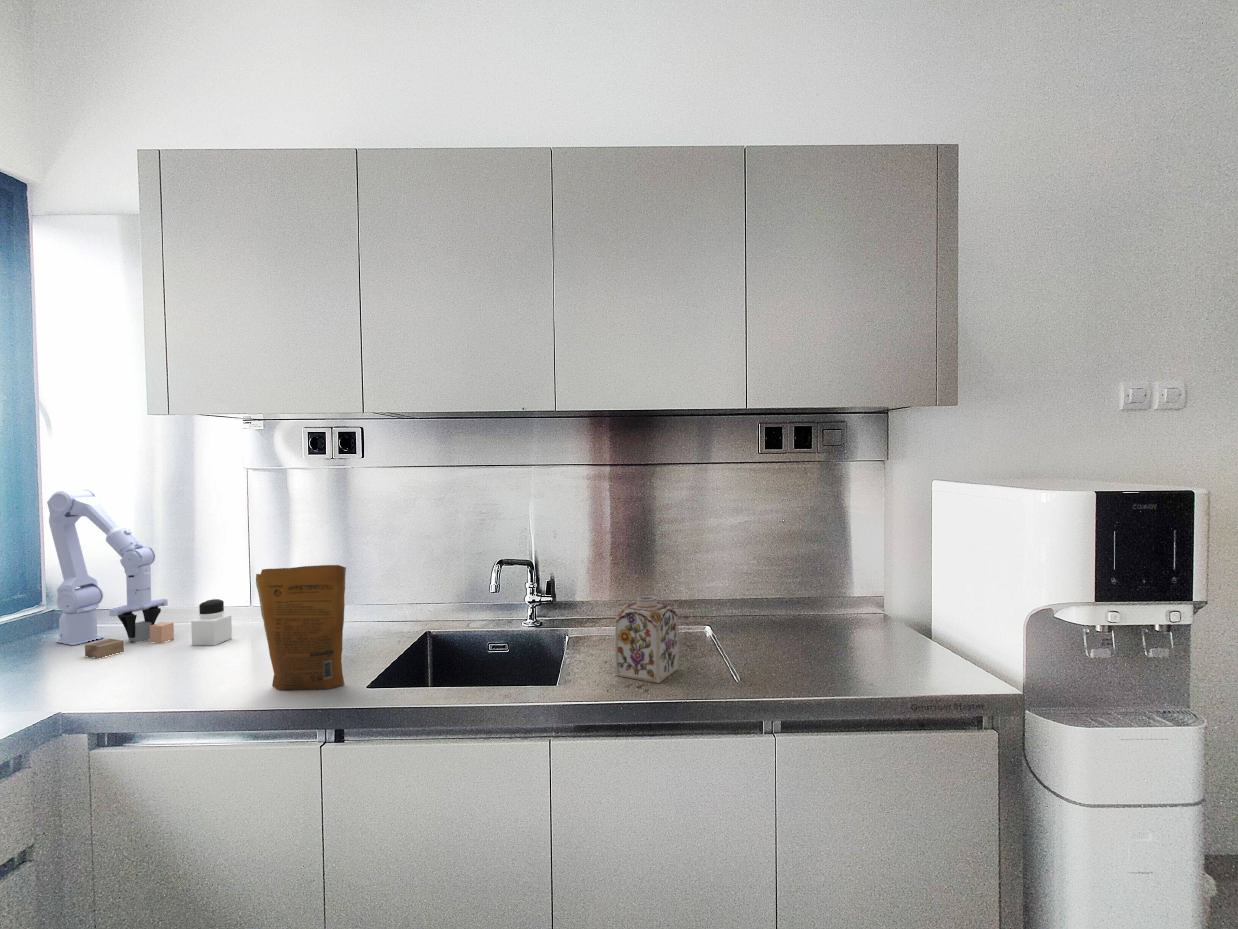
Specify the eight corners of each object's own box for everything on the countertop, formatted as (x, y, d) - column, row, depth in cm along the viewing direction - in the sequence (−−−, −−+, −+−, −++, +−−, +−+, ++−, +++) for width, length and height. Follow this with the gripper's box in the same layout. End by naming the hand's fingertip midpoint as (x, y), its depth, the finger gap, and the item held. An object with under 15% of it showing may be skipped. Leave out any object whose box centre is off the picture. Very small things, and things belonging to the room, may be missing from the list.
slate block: (128, 641, 187) (128, 624, 187) (143, 637, 190) (143, 621, 190) (136, 643, 185) (136, 625, 185) (151, 639, 189) (151, 622, 189)
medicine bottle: (232, 638, 188) (231, 597, 188) (214, 645, 181) (213, 603, 181) (209, 638, 189) (208, 597, 189) (191, 645, 182) (190, 603, 182)
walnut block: (85, 657, 173) (84, 644, 173) (109, 651, 178) (109, 638, 178) (99, 659, 170) (99, 646, 170) (124, 653, 176) (123, 640, 176)
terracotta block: (150, 643, 185) (149, 625, 185) (162, 639, 189) (161, 622, 189) (161, 643, 184) (161, 626, 184) (173, 639, 188) (173, 622, 188)
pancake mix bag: (342, 692, 143) (339, 566, 143) (256, 694, 143) (253, 568, 142) (354, 681, 150) (351, 561, 149) (271, 683, 149) (269, 563, 149)
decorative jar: (659, 684, 145) (657, 605, 144) (614, 676, 150) (612, 600, 150) (680, 669, 155) (679, 594, 155) (637, 662, 161) (636, 590, 160)
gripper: (118, 595, 179) (120, 643, 179) (173, 585, 192) (174, 630, 193) (104, 593, 182) (105, 640, 182) (159, 583, 195) (160, 628, 196)
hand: (140, 635), depth 188 cm, fingers closed on slate block, 4 cm apart
